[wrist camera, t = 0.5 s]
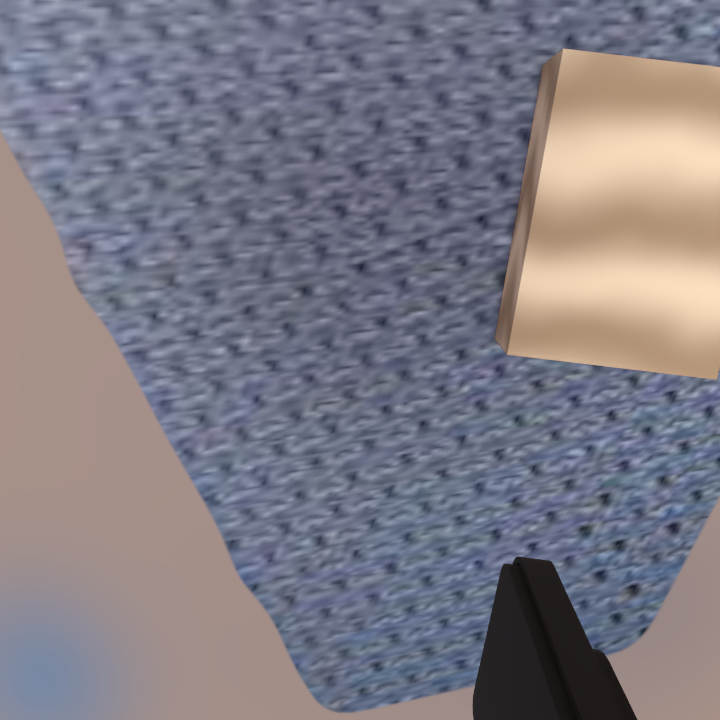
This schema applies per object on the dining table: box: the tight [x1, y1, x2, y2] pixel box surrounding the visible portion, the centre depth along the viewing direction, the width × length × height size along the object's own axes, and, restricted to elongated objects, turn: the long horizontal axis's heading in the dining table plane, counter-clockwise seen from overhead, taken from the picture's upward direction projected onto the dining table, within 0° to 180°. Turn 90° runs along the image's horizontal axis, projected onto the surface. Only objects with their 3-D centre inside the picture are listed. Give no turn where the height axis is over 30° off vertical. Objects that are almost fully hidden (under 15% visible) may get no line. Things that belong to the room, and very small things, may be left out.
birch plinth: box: [495, 49, 720, 379], centre depth 35 cm, size 16×12×4 cm
